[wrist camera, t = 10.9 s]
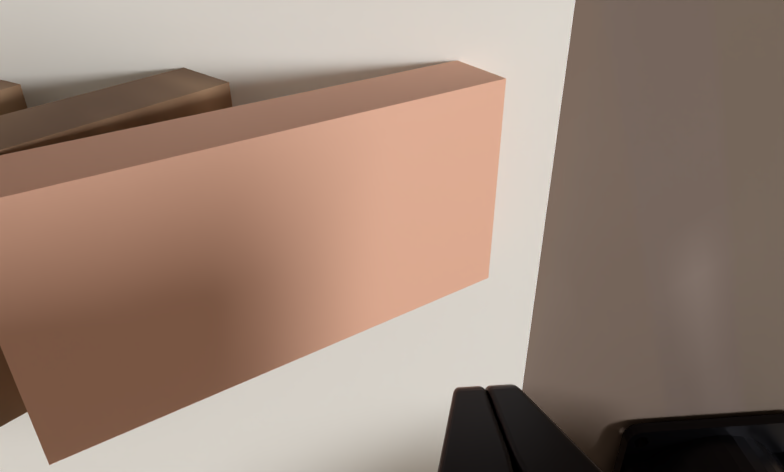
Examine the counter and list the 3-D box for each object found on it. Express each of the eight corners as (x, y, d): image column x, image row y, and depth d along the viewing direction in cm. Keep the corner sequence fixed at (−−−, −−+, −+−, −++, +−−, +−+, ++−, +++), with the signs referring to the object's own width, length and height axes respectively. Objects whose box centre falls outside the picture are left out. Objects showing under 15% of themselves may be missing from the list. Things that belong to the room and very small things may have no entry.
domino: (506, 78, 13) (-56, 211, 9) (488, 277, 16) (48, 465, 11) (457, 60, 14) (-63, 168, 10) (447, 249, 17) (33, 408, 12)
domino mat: (572, -122, 14) (591, -119, 13) (501, 452, 23) (509, 480, 22) (-611, -113, 12) (-696, -109, 11) (-178, 499, 22) (-203, 531, 21)
